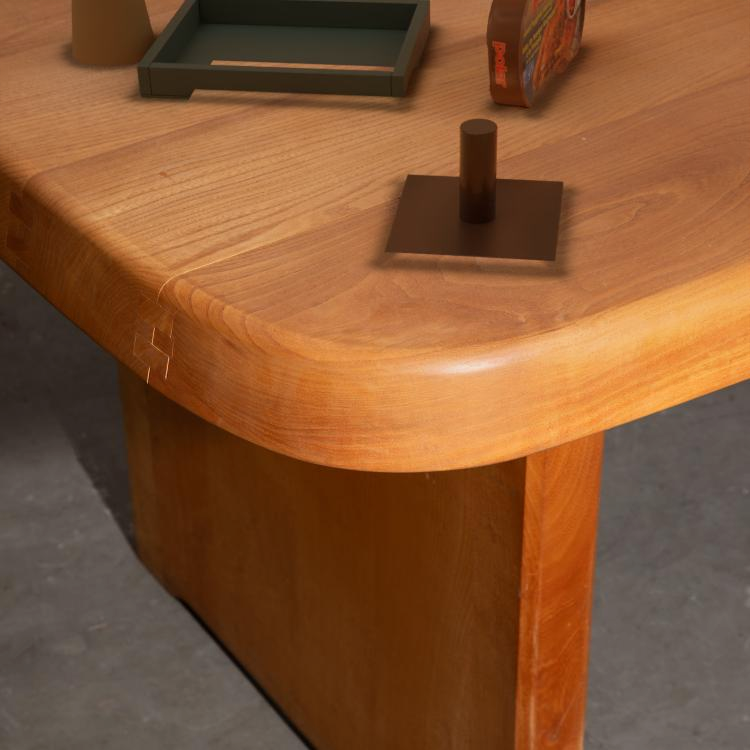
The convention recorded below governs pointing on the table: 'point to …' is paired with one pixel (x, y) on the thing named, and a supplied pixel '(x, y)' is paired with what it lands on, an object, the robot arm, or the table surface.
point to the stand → (477, 208)
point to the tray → (287, 47)
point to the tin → (530, 45)
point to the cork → (110, 31)
